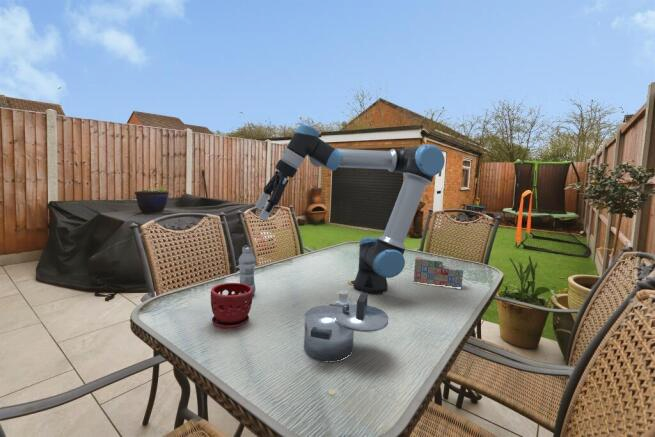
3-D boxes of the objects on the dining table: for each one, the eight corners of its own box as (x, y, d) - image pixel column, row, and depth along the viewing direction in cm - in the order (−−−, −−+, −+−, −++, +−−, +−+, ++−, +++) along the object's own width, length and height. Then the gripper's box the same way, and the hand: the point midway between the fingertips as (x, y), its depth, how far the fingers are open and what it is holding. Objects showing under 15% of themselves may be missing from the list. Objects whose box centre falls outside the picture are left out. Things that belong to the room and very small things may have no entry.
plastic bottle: (251, 299, 126) (251, 249, 124) (235, 297, 127) (235, 247, 125) (258, 293, 132) (258, 245, 130) (242, 291, 134) (243, 244, 131)
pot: (358, 337, 100) (360, 306, 98) (345, 371, 82) (346, 334, 80) (315, 329, 103) (316, 299, 102) (293, 361, 85) (294, 325, 84)
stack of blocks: (460, 286, 152) (463, 261, 151) (461, 290, 147) (464, 264, 145) (414, 279, 160) (416, 255, 158) (413, 283, 154) (415, 258, 152)
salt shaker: (341, 315, 115) (342, 289, 114) (350, 318, 113) (351, 292, 111) (334, 318, 112) (335, 292, 111) (343, 322, 110) (344, 295, 108)
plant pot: (230, 337, 97) (230, 298, 95) (202, 325, 104) (201, 289, 102) (260, 321, 108) (261, 287, 106) (233, 311, 115) (233, 278, 113)
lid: (390, 312, 94) (391, 292, 93) (385, 335, 80) (387, 312, 79) (341, 305, 98) (342, 285, 97) (328, 326, 84) (329, 303, 83)
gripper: (275, 154, 127) (248, 200, 129) (286, 163, 104) (254, 219, 106) (291, 163, 130) (264, 208, 132) (306, 175, 107) (273, 229, 109)
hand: (260, 213), depth 119 cm, fingers open, 13 cm apart
